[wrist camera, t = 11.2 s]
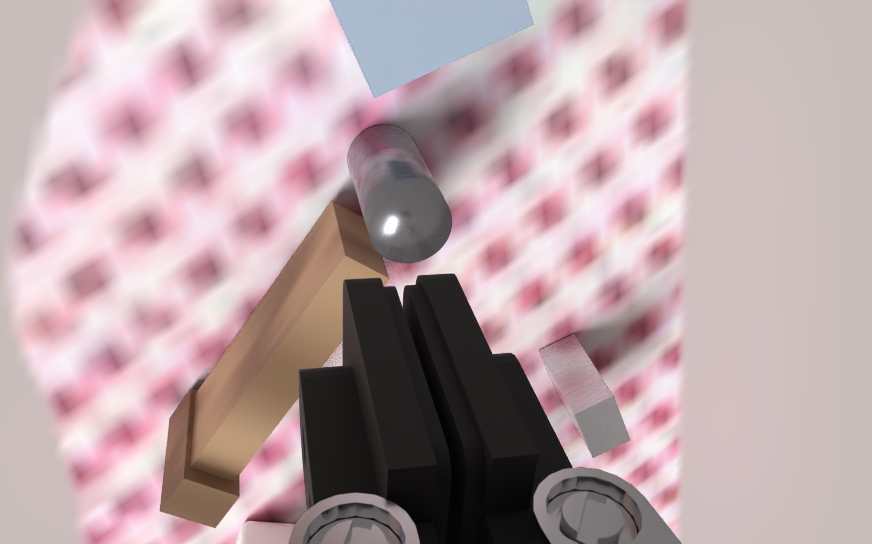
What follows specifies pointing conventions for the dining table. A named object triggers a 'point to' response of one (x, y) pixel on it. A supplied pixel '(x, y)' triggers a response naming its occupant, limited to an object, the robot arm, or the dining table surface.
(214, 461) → the tan wooden plank
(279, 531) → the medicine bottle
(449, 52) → the block
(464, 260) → the dining table surface
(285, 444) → the dining table surface
